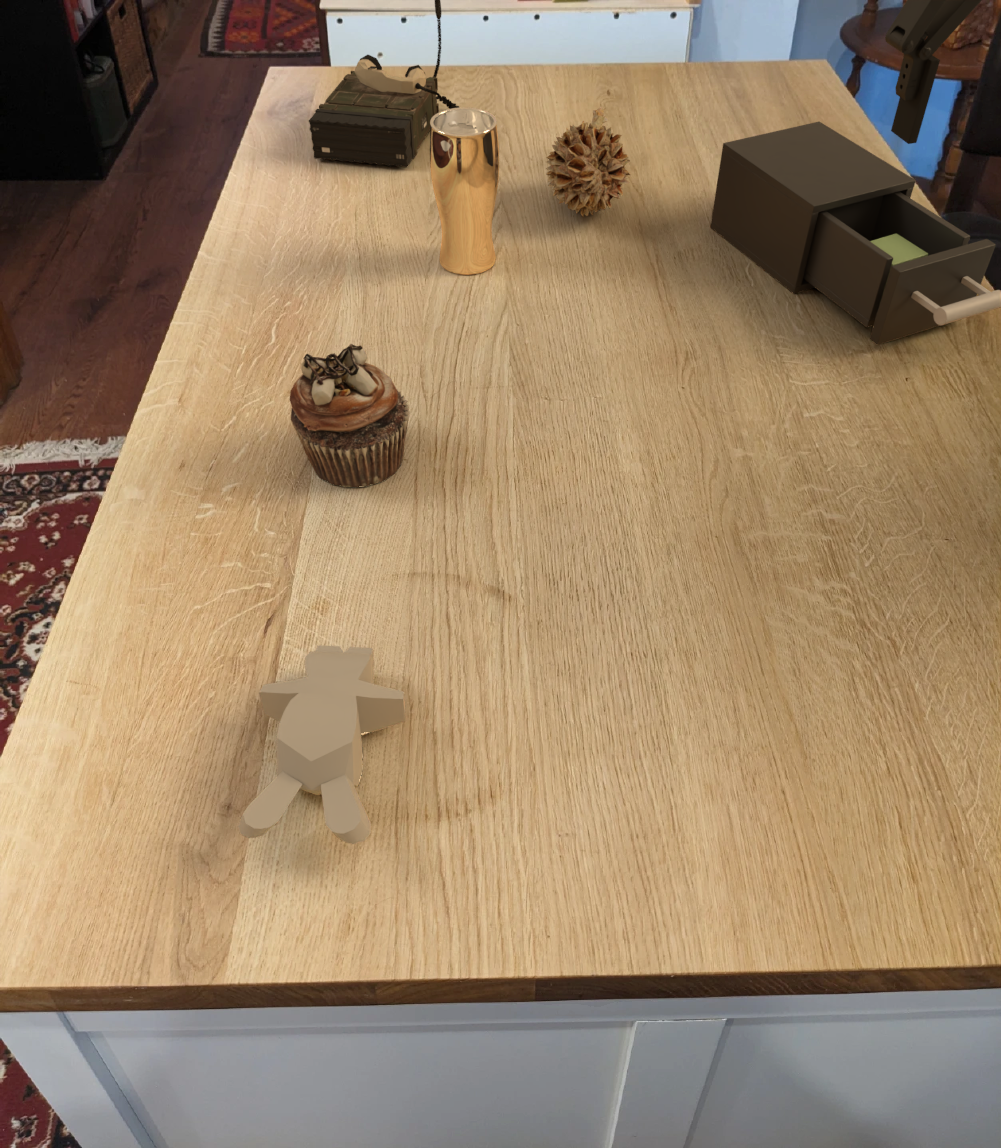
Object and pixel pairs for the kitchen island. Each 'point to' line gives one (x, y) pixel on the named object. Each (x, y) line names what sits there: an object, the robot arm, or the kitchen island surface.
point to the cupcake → (349, 418)
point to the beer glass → (465, 186)
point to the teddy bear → (324, 739)
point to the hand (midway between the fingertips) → (974, 127)
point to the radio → (378, 114)
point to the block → (899, 249)
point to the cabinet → (793, 193)
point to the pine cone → (588, 166)
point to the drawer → (898, 267)
